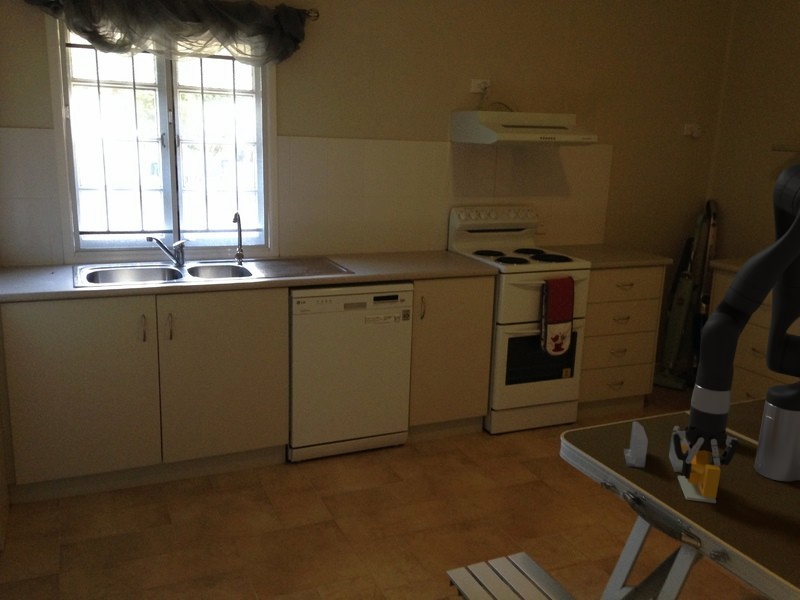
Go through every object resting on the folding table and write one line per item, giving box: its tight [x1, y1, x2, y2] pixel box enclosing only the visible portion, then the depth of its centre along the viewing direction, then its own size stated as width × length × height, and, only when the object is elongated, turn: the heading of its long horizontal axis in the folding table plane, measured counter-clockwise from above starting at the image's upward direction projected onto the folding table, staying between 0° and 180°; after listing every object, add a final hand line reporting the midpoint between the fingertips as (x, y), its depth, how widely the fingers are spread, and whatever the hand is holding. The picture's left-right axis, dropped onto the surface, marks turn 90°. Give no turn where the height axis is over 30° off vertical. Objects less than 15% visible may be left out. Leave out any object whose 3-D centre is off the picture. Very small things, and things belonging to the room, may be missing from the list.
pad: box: [677, 475, 717, 504], centre depth 158 cm, size 6×10×1 cm, turn 169°
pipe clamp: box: [687, 450, 722, 499], centre depth 156 cm, size 12×4×6 cm, turn 170°
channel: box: [623, 420, 689, 474], centre depth 171 cm, size 14×11×7 cm
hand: (698, 478), depth 157 cm, fingers closed on pipe clamp, 4 cm apart
